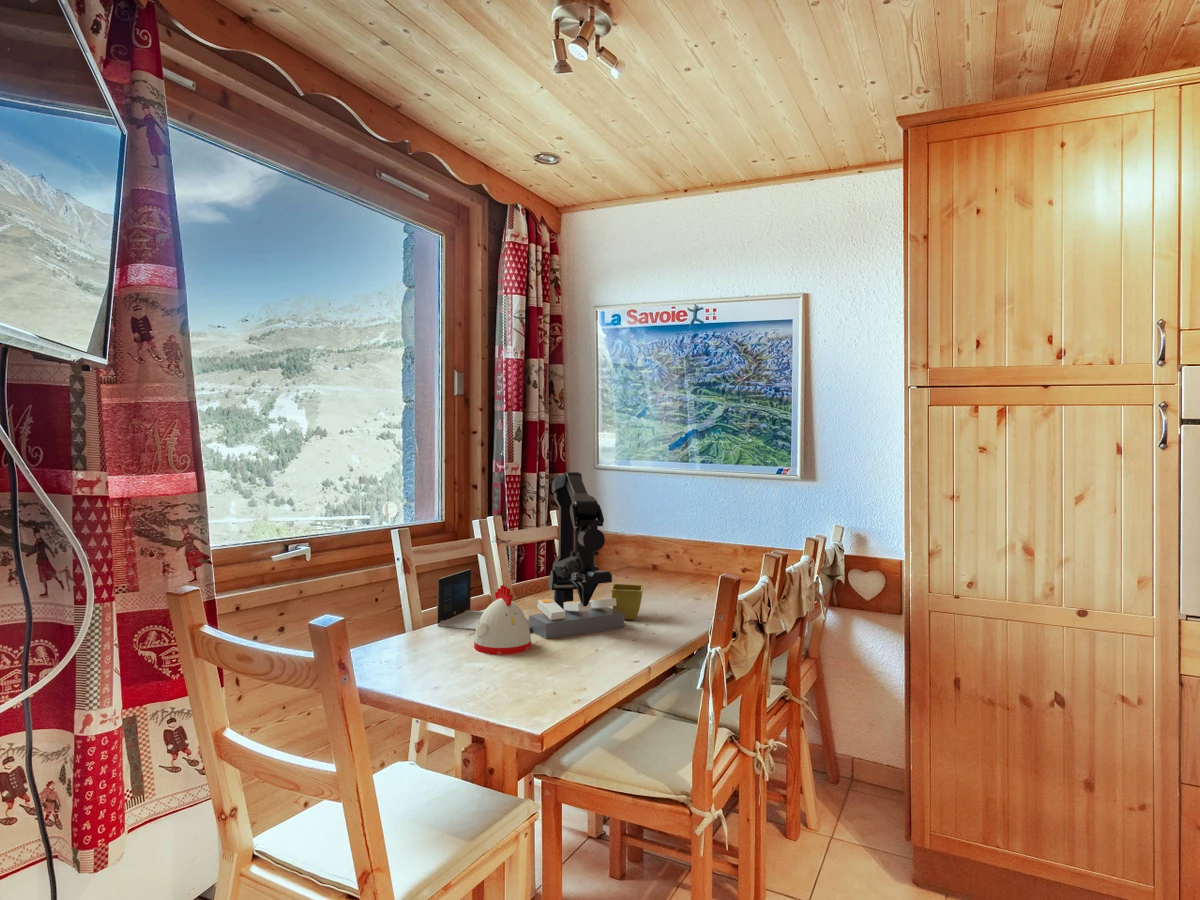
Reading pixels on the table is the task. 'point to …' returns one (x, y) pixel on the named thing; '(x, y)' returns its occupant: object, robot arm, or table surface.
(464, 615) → the laptop
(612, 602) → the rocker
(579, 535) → the robot arm
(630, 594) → the flower pot
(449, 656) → the table surface
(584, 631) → the power strip
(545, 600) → the rocker
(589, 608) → the block
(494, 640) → the kitchen timer
